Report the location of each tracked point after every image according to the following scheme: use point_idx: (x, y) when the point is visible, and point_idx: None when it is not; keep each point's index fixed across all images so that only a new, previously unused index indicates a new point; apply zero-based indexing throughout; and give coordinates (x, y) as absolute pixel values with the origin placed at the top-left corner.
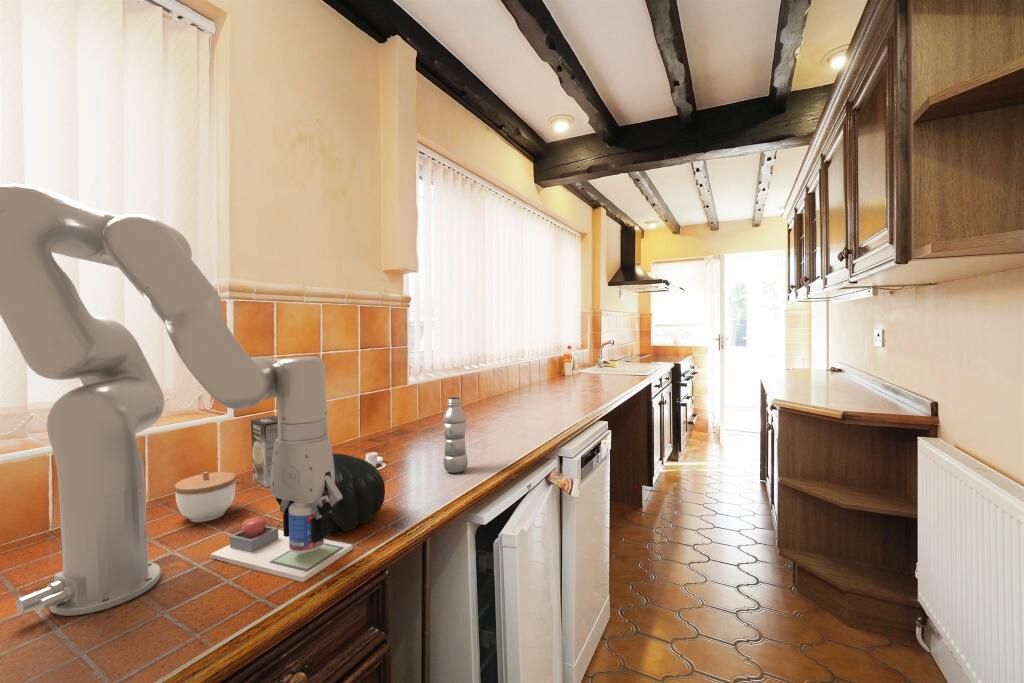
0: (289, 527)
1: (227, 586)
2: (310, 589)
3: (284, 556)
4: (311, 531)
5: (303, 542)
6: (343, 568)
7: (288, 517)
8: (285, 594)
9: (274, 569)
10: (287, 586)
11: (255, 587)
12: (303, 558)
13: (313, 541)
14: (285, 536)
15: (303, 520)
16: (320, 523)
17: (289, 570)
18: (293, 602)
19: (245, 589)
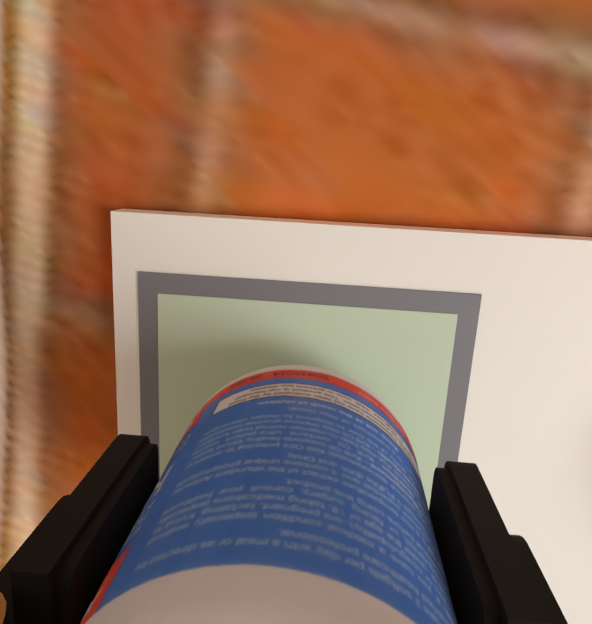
0: (368, 479)
1: (574, 11)
2: (23, 159)
3: (430, 380)
4: (121, 488)
5: (213, 412)
6: (24, 397)
7: (474, 605)
8: (120, 65)
9: (370, 231)
10: (180, 142)
11: (370, 66)
12: None
13: (127, 435)
14: (457, 462)
15: (153, 545)
16: (3, 569)
17: (259, 249)
18: (4, 11)
19: (417, 24)
